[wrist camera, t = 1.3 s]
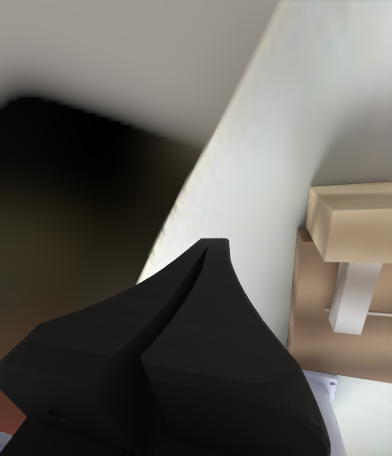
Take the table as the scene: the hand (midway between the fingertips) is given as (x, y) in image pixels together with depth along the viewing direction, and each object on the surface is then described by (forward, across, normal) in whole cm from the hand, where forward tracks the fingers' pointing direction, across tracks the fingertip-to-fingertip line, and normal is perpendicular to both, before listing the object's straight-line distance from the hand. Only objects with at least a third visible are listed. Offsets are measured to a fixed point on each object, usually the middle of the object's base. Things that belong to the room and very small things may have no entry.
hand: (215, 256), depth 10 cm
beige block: (+7, -8, +4) cm, 11 cm away
